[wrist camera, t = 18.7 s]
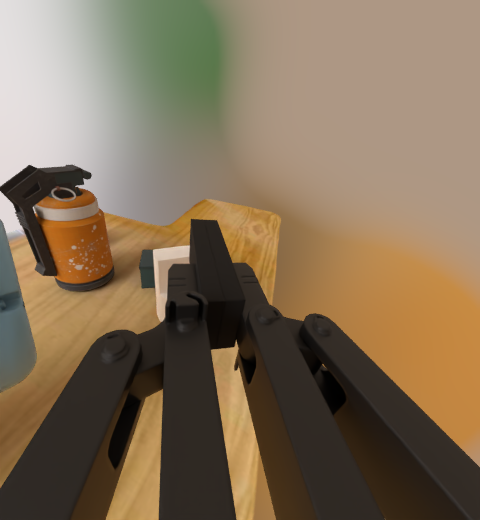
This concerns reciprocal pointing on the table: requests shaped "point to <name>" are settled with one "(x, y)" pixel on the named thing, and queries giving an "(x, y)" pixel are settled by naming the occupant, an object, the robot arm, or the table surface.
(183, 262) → the cylinder with rectangular tab
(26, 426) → the table surface
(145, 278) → the pencil box
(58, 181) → the canister
